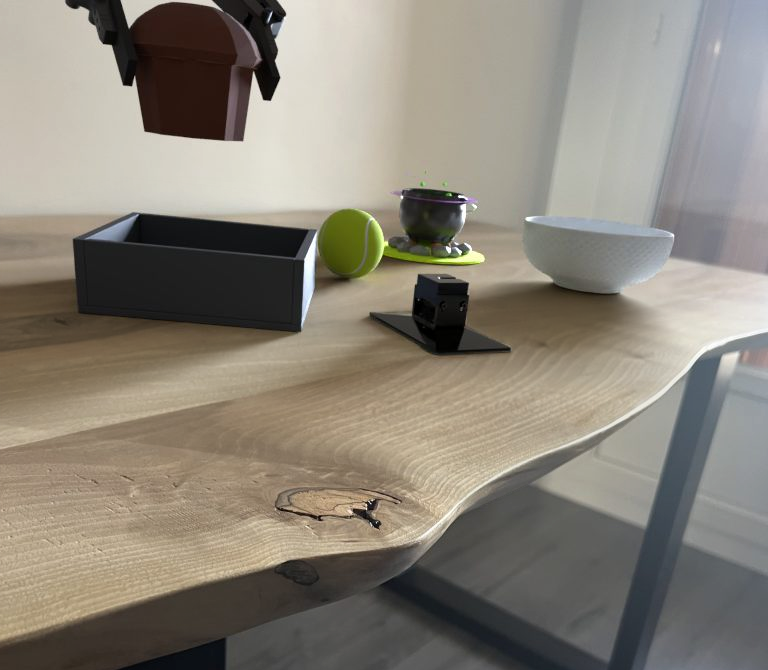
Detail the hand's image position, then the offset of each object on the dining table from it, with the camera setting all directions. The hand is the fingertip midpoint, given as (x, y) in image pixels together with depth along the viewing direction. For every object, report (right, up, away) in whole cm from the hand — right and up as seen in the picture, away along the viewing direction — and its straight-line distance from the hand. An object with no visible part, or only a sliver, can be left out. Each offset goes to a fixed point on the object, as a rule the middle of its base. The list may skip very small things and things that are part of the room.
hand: (204, 81), depth 69 cm
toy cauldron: (+21, -2, +39) cm, 44 cm away
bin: (0, -18, +4) cm, 18 cm away
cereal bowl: (+39, -10, +27) cm, 49 cm away
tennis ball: (+11, -11, +19) cm, 25 cm away
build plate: (+20, -21, 0) cm, 29 cm away
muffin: (-2, -3, +4) cm, 5 cm away
